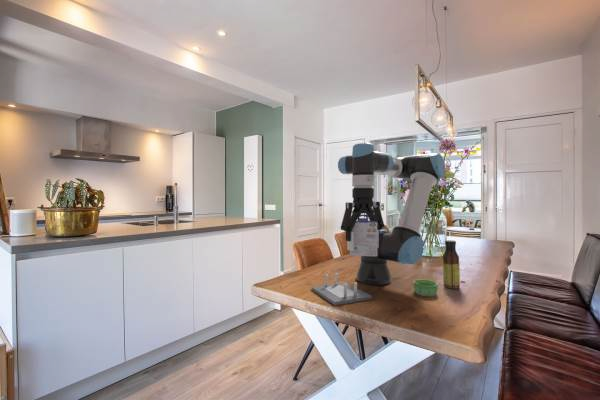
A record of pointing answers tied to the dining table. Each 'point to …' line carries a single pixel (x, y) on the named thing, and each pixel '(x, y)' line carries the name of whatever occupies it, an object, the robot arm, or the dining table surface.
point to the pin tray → (340, 292)
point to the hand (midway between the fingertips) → (363, 248)
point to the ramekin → (425, 287)
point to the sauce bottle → (451, 266)
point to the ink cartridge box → (365, 237)
